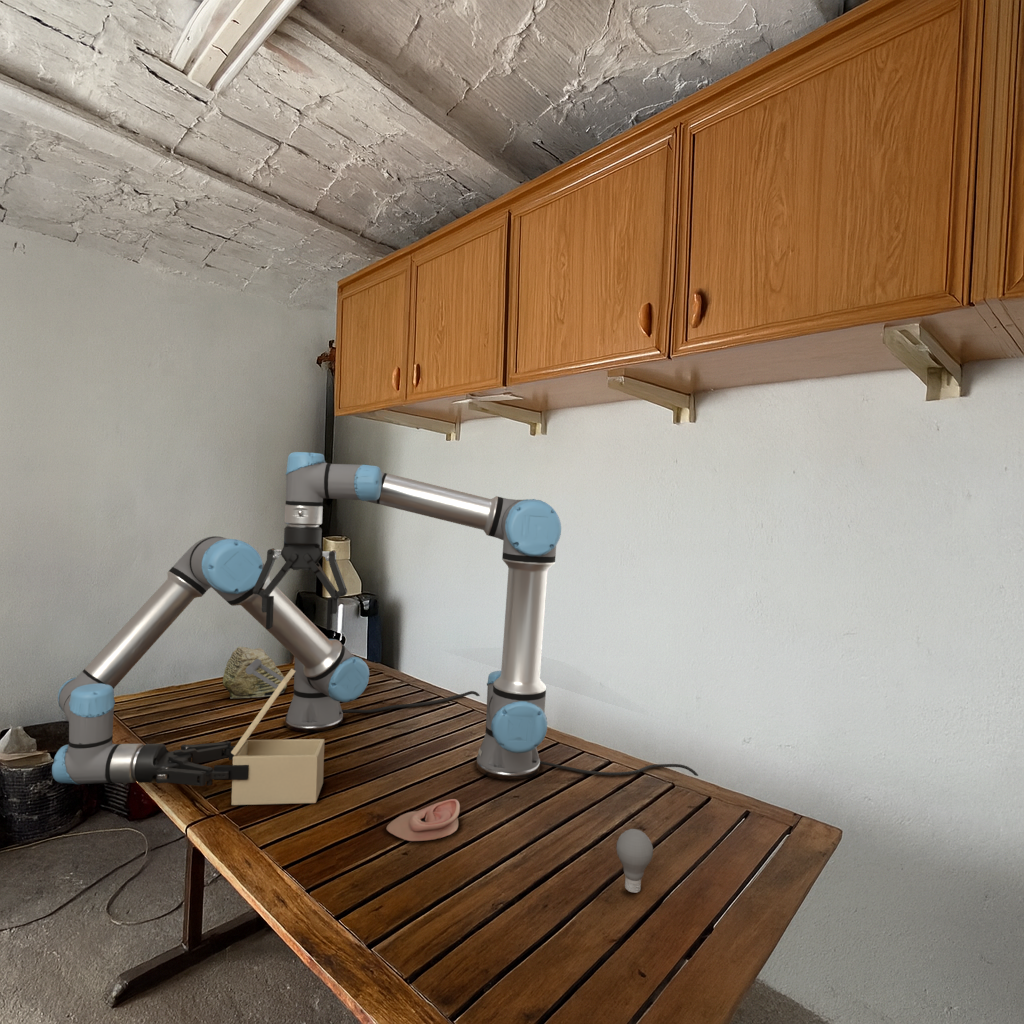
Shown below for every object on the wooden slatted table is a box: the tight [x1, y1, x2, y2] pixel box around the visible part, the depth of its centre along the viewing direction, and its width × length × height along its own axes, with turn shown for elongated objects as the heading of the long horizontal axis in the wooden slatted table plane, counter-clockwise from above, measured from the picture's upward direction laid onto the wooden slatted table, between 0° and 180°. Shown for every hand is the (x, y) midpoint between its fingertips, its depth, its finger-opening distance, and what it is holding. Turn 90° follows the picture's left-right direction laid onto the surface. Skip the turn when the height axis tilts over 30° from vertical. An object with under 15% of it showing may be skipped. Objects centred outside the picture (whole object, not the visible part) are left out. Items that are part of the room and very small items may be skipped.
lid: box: [231, 659, 296, 755], centre depth 133 cm, size 18×9×8 cm
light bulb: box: [615, 828, 654, 894], centre depth 106 cm, size 6×6×10 cm
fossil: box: [222, 646, 288, 699], centre depth 198 cm, size 9×18×15 cm, turn 132°
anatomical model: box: [386, 798, 461, 842], centre depth 123 cm, size 13×4×12 cm
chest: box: [230, 738, 325, 806], centre depth 134 cm, size 17×9×10 cm, turn 98°
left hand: (254, 762), depth 133 cm, fingers closed on chest, 9 cm apart
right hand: (299, 628), depth 134 cm, fingers open, 12 cm apart
